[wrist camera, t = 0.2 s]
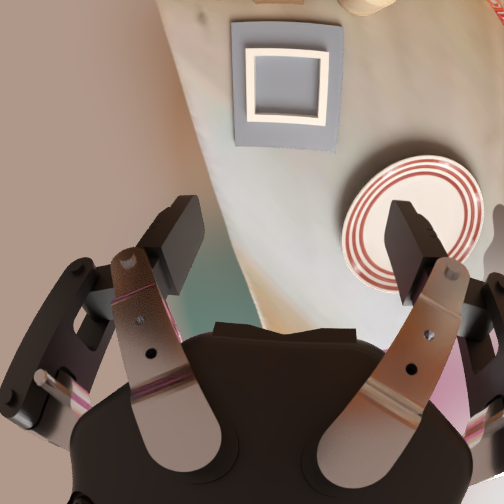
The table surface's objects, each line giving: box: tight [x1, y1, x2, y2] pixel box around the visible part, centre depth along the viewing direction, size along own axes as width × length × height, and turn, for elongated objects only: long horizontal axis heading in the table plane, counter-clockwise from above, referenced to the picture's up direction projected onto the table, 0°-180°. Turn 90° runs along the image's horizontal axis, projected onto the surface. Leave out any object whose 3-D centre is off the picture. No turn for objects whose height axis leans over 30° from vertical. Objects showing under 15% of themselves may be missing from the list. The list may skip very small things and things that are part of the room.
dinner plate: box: [341, 155, 484, 293], centre depth 40 cm, size 27×27×3 cm
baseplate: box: [231, 21, 344, 153], centre depth 30 cm, size 18×14×2 cm
